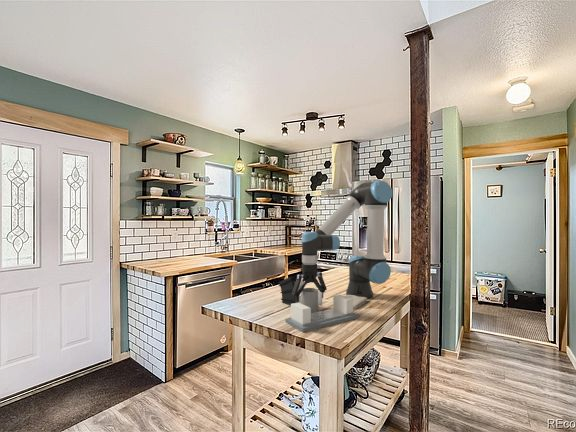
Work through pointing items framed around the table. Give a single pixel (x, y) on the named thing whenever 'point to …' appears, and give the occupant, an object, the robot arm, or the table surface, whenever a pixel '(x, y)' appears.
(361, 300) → the washcloth
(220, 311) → the table surface
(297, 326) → the rail board
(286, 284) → the black ribbed block
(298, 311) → the block
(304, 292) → the cup
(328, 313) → the steel rail
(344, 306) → the module
